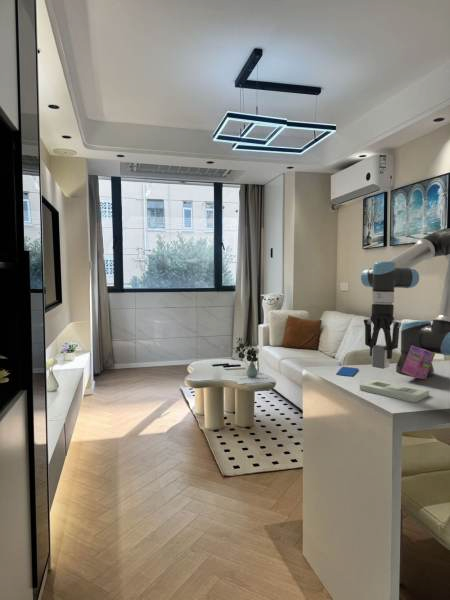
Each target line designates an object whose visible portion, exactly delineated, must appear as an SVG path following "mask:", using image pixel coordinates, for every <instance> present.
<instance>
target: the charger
mask: <svg viewBox="0 0 450 600" xmlns="http://www.w3.org/2000/svg"><path fill="white" fill-rule="evenodd" d="M386 349H387V348H386V344H385V345H383V344H376V345H373V364H372V363H371V367H372V368H378V369H385V368H384V351H385V350H386Z"/></svg>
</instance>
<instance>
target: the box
mask: <svg viewBox="0 0 450 600" xmlns="http://www.w3.org/2000/svg"><path fill="white" fill-rule="evenodd" d="M435 355H436V353H433V352H430V351H427V350H424V349H421V348H418V347H415V346H412V345H411V348H410V350H409V353H408V356H407V358H406V361H405V364H404V366H403V369H402V373H405V374H407V375H406V376H410V377H412V378H417V379H419V380H420V379H422V380H426V379H427V377H428V376H427V374H428V371H429V368H430V366H431V363H432V364H433V360H434V357H435ZM405 374H404V375H405Z"/></svg>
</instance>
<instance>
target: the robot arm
mask: <svg viewBox="0 0 450 600" xmlns="http://www.w3.org/2000/svg"><path fill="white" fill-rule="evenodd" d="M443 256H444V257H445V258H446V260H448V263H447V268H446V273H445V276H444V277H445V278H444V283H443V288H442V292H441V293H442V294H441V299H440V304H439V308H438V314H437V316H436V317H434V318H433V319H432V321H431V320H418V321H417V320H414V321H413V320H411V321H404V322H403V323H402V322H401V321H397V320H395V318H394V308H395V307H394V304H393V303H394V302H395V289H397V288H403V289H409V288H410V289H411V288H415V287H417V284H418V283H419V282H420V275H419V272H418V271H417V269H414V268H413V267H415V266H416V265H418V264H420V263H421V262H423V261H428V260H431V259H433V258H435V257H443ZM360 280H361V283H362V285H363V286H365V287H368V288H372V289H371V291H372V292H371V294H372V295H371V302H372V304H371V316H370V318H365V319H363V323H364V331H365V332H364V337H365V338H364V343H365V346H367V347H369V356H370V357H371V365H372V364H373V345H377V342H378V338H379V334H380V331H381V330H382V331H383V333H384V340H385V341H384V342H385V345H386V348H387V349H386V350H385V351H384V369H387V368H390V360H391V359H392V358H393V350H396V349H398V347H399V338H400V355H399V357H398V361H397V363H396V365H395V372H396V373H399V374H401V375H404V376H408V375H407V374H405V373H402V369H403V366H404V364H405V361H406V358H407V356H408V353H409V350H410V348H411V345H412V346H415V347H418V348H421V349H424V350H427V351H430V352H433V353H435V354H439V355H444V356H450V228H449V227H448V228H442V229H441V228H440V229H438V230H437V231H433V232H431V233H429V234H428V235H425V236H423V237H421V238H420V239H419V240H417V241H416V242H415V243H414V245H413V246H411V247H409V248H407V249H405V250H404V251H402V252H400V253H399V254H397V255H395V256H394V257H392V258H390V259H389V260H387V261H374V263H373V268H367V269H364V270H362V272H361V274H360ZM372 324H373V328H372ZM391 326H392V334H391ZM400 328H401V330H400ZM399 336H400V337H399ZM434 375H435V369H434V366H433V362H432V363H431V366H430V368H429V371H428V374H427V377H432V376H434Z"/></svg>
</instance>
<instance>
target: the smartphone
mask: <svg viewBox="0 0 450 600" xmlns="http://www.w3.org/2000/svg"><path fill="white" fill-rule="evenodd" d="M358 371H359V368H358V367H349V366H348V367H347V366H342V367H340V369H339V370H338V371H337V372H336V373H335V375H336V376H343V377H353V378H354V376H355V375H356V374H357V372H358Z"/></svg>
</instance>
